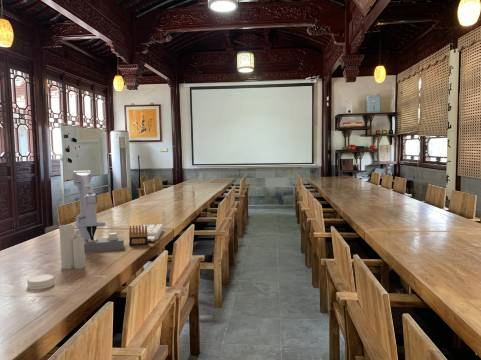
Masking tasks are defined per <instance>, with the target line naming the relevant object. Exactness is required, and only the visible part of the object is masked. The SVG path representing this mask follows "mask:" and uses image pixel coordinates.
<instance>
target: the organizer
mask: <svg viewBox="0 0 481 360" xmlns="http://www.w3.org/2000/svg"><path fill="white" fill-rule="evenodd" d="M142 225H143V226H144V233H145V225H146V226H147V232H148V242H149V241H150V242H154V241H158V239H159V237H160V235H161V234H162V232H163V224H162V223H160V224H158V223H157V224H142ZM141 235H142V226H141ZM138 236H139V229H138ZM135 237H136V232H135ZM135 240H136V239H135Z"/></svg>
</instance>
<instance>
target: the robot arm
mask: <svg viewBox="0 0 481 360" xmlns="http://www.w3.org/2000/svg"><path fill="white" fill-rule="evenodd" d="M92 175H93V174H92V171H91V170H90V169H89V170H73V171H72V181H73V185H74V187H75V186H76V187H77V190H78V199H79V209H80V213H79V214H78V215H76V218H75V224H76V228H77V229H75V230H76V231H75V234H81V238H84V240H88V239H91V240H94V239H95V238H94V237H95V234H96V231H97V227H98V228H99V227H106V222H102V221H101V222H98V217H97V216H98V215H97V214H98V213H97V204H98V197H97V193H95V192H94V187H93V186H92V185H90V184H91V181H92V177H93V176H92Z"/></svg>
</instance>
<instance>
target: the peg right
mask: <svg viewBox="0 0 481 360" xmlns="http://www.w3.org/2000/svg"><path fill="white" fill-rule="evenodd" d="M117 237H118V236H117V232H109V233H108V238H109V241H111V240H117Z"/></svg>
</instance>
